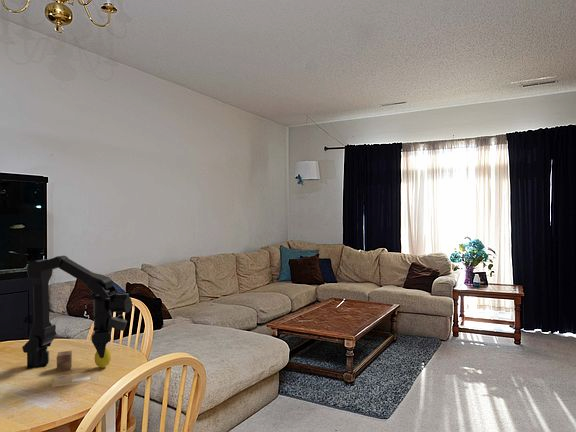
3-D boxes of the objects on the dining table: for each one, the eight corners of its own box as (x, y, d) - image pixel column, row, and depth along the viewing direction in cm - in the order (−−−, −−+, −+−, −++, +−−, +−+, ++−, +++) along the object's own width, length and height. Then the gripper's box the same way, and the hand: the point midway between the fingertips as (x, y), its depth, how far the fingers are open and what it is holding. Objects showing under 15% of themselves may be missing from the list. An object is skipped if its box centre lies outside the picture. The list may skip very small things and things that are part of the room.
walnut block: (56, 372, 155) (56, 356, 155) (58, 368, 159) (58, 352, 159) (70, 370, 156) (70, 354, 156) (71, 366, 161) (71, 350, 160)
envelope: (51, 387, 141) (51, 386, 141) (55, 377, 150) (55, 376, 150) (98, 381, 146) (98, 380, 146) (99, 371, 155) (99, 370, 155)
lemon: (104, 371, 155) (104, 349, 155) (91, 370, 156) (91, 348, 156) (114, 366, 161) (113, 344, 161) (100, 365, 162) (100, 344, 162)
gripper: (125, 315, 153) (126, 359, 153) (125, 304, 170) (125, 344, 170) (91, 318, 149) (91, 363, 149) (94, 307, 166) (94, 347, 166)
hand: (102, 353), depth 159 cm, fingers open, 9 cm apart
